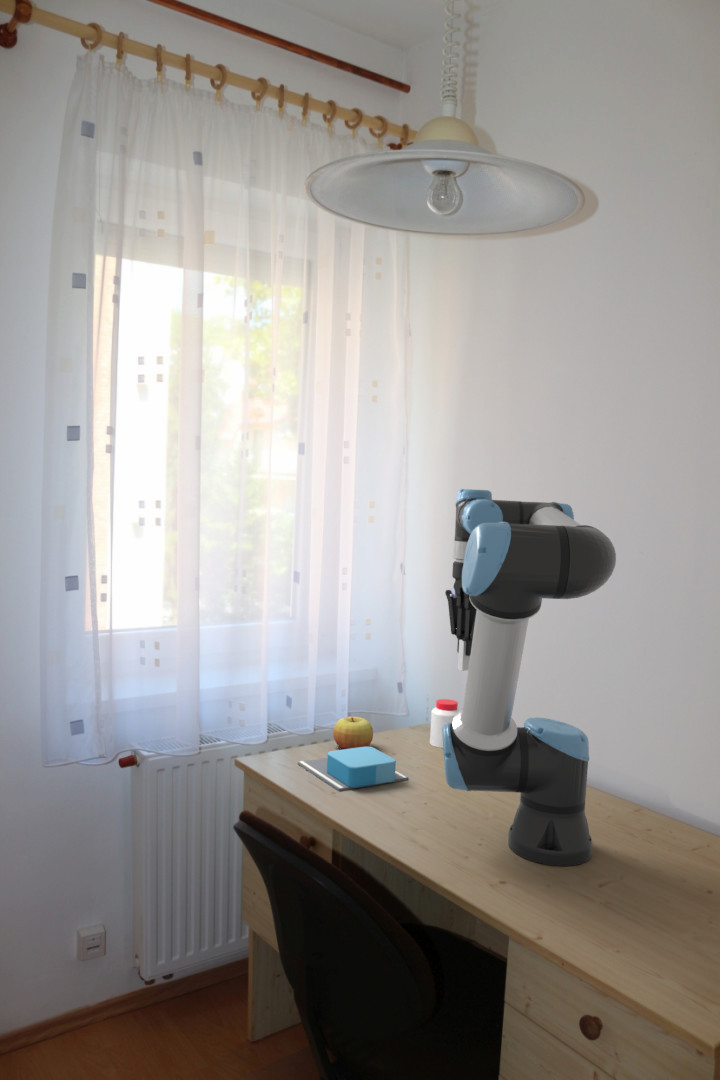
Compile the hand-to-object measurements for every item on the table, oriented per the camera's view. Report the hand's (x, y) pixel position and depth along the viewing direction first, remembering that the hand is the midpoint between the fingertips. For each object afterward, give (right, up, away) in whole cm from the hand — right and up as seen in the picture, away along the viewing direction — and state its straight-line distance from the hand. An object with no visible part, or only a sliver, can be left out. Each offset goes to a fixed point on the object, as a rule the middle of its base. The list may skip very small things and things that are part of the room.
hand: (464, 669), depth 187 cm
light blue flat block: (-19, -23, 0) cm, 30 cm away
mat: (-24, -25, +9) cm, 36 cm away
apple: (-25, -24, +27) cm, 43 cm away
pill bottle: (-1, -24, +34) cm, 42 cm away
